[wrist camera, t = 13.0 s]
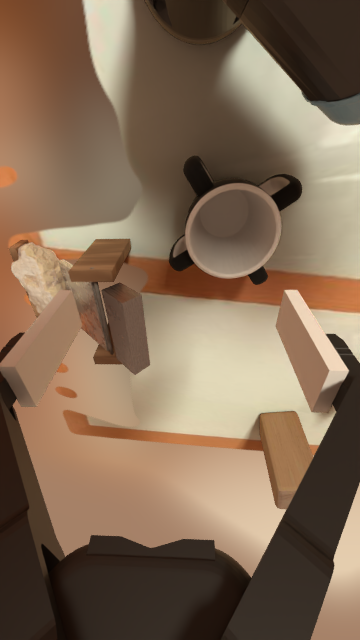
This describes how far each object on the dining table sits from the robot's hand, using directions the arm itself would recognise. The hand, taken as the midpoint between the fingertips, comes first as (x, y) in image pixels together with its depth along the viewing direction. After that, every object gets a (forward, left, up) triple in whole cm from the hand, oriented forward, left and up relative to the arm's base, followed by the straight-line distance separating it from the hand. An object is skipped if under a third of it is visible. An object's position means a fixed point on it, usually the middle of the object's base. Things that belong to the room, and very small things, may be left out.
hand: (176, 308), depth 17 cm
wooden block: (+59, +25, -32) cm, 72 cm away
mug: (+2, +6, -32) cm, 33 cm away
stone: (+12, -22, -28) cm, 37 cm away
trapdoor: (+15, -13, -23) cm, 30 cm away
